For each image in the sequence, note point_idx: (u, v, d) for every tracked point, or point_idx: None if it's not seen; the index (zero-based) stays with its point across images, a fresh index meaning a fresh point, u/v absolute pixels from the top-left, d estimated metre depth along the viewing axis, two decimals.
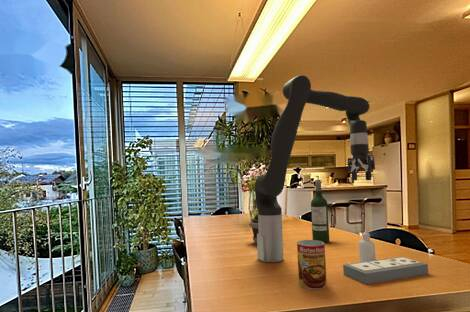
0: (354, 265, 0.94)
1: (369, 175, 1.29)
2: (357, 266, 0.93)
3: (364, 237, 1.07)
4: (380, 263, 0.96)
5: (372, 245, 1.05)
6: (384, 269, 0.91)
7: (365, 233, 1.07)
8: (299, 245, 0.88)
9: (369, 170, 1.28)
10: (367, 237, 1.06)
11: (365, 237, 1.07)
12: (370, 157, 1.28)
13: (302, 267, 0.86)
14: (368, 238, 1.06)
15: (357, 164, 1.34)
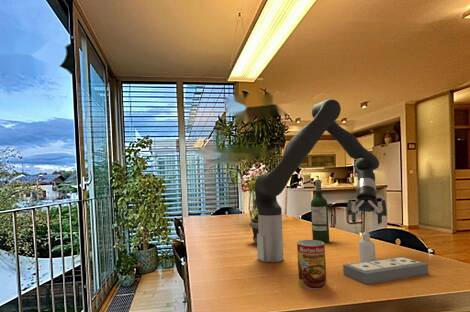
0: (354, 265, 0.94)
1: (381, 218, 1.14)
2: (357, 266, 0.93)
3: (364, 237, 1.07)
4: (380, 263, 0.96)
5: (372, 245, 1.05)
6: (384, 269, 0.91)
7: (365, 233, 1.07)
8: (299, 245, 0.88)
9: (382, 213, 1.15)
10: (367, 237, 1.06)
11: (365, 237, 1.07)
12: None
13: (302, 267, 0.86)
14: (368, 238, 1.06)
15: (364, 206, 1.20)
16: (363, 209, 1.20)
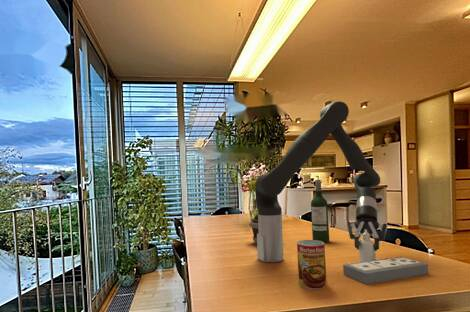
0: (354, 265, 0.94)
1: (378, 244, 1.05)
2: (357, 266, 0.93)
3: (364, 237, 1.07)
4: (380, 263, 0.96)
5: (372, 245, 1.05)
6: (384, 269, 0.91)
7: (365, 233, 1.07)
8: (299, 245, 0.88)
9: (380, 238, 1.06)
10: (367, 237, 1.06)
11: (365, 237, 1.07)
12: (386, 226, 1.09)
13: (302, 267, 0.86)
14: (368, 238, 1.06)
15: (366, 227, 1.11)
16: None
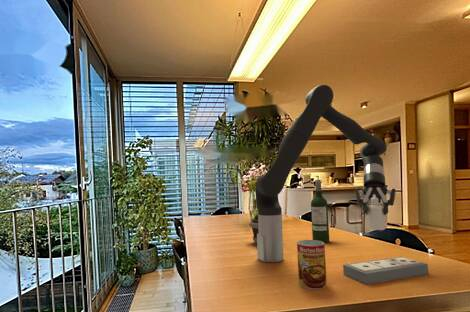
0: (354, 265, 0.94)
1: (387, 208, 1.04)
2: (357, 266, 0.93)
3: (373, 202, 1.06)
4: (380, 263, 0.96)
5: (381, 209, 1.03)
6: (384, 269, 0.91)
7: (374, 198, 1.06)
8: (299, 245, 0.88)
9: (389, 202, 1.05)
10: (376, 201, 1.05)
11: (374, 201, 1.05)
12: (395, 191, 1.07)
13: (302, 267, 0.86)
14: (377, 202, 1.05)
15: (374, 193, 1.09)
16: None
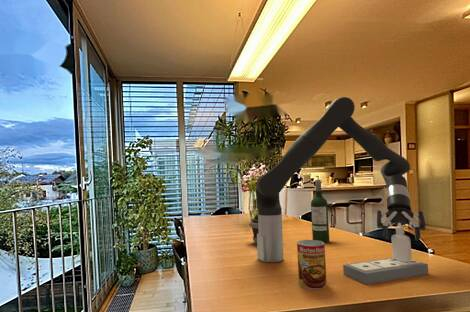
0: (354, 265, 0.94)
1: (419, 233, 0.96)
2: (357, 266, 0.93)
3: (398, 231, 0.99)
4: (380, 263, 0.96)
5: (407, 239, 0.96)
6: (384, 269, 0.91)
7: (399, 226, 0.99)
8: (299, 245, 0.88)
9: (421, 227, 0.97)
10: (401, 231, 0.98)
11: (399, 231, 0.98)
12: (422, 214, 1.01)
13: (302, 267, 0.86)
14: (402, 232, 0.98)
15: (397, 218, 1.02)
16: (396, 222, 1.02)
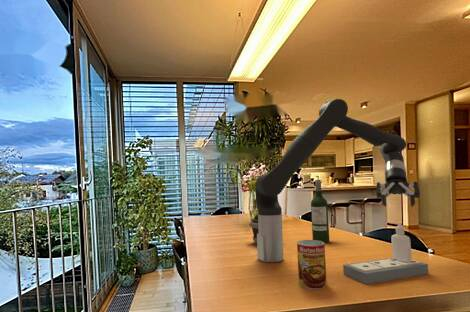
0: (354, 265, 0.94)
1: (414, 200, 1.08)
2: (357, 266, 0.93)
3: (398, 231, 0.99)
4: (380, 263, 0.96)
5: (407, 240, 0.96)
6: (384, 269, 0.91)
7: (399, 227, 0.99)
8: (299, 245, 0.88)
9: (415, 195, 1.09)
10: (401, 231, 0.98)
11: (399, 231, 0.98)
12: (417, 184, 1.12)
13: (302, 267, 0.86)
14: (402, 232, 0.98)
15: (395, 188, 1.14)
16: (393, 191, 1.14)
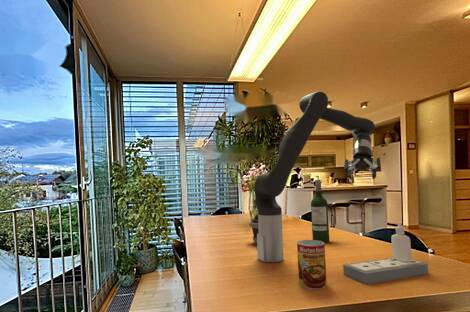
0: (354, 265, 0.94)
1: None
2: (357, 266, 0.93)
3: (398, 231, 0.99)
4: (380, 263, 0.96)
5: (407, 240, 0.96)
6: (384, 269, 0.91)
7: (399, 227, 0.99)
8: (299, 245, 0.88)
9: (377, 169, 1.22)
10: (401, 231, 0.98)
11: (399, 231, 0.98)
12: (379, 160, 1.25)
13: (302, 267, 0.86)
14: (402, 232, 0.98)
15: (360, 164, 1.27)
16: (359, 166, 1.27)
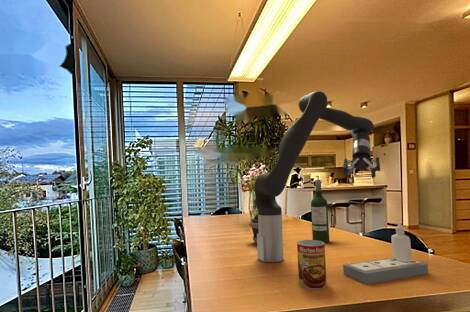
0: (354, 265, 0.94)
1: None
2: (357, 266, 0.93)
3: (398, 231, 0.99)
4: (380, 263, 0.96)
5: (407, 240, 0.96)
6: (384, 269, 0.91)
7: (399, 227, 0.99)
8: (299, 245, 0.88)
9: (376, 168, 1.23)
10: (401, 231, 0.98)
11: (399, 231, 0.98)
12: (378, 159, 1.26)
13: (302, 267, 0.86)
14: (402, 232, 0.98)
15: (359, 163, 1.27)
16: (358, 166, 1.27)
